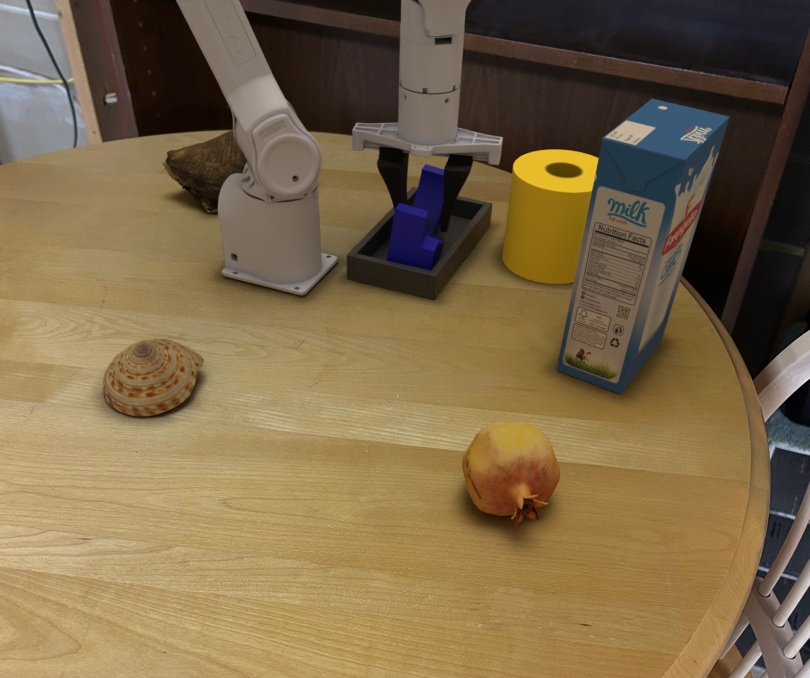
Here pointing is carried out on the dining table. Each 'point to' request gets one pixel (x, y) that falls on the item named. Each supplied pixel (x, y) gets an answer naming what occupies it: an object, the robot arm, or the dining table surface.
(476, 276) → the dining table surface
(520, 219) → the yellow toilet paper roll
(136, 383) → the seashell
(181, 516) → the dining table surface
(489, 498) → the fruit
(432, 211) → the blue piece
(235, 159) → the seashell
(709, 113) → the milk carton
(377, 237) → the holder
